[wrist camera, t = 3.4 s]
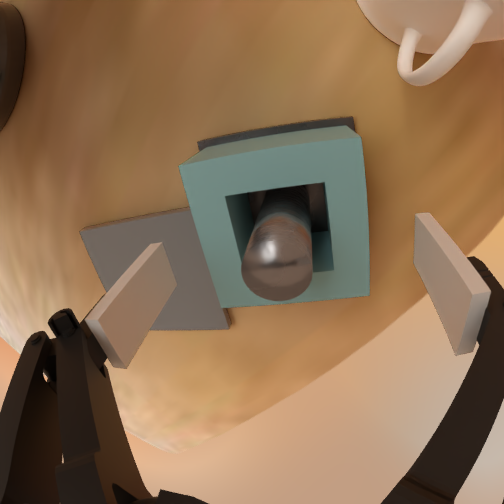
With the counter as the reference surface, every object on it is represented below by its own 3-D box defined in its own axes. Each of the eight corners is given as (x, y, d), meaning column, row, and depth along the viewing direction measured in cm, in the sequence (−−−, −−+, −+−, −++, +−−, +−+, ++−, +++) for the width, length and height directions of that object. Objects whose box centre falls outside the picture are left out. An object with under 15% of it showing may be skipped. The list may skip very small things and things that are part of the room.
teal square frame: (206, 147, 19) (178, 166, 15) (346, 125, 17) (361, 137, 13) (236, 265, 23) (221, 308, 19) (358, 253, 21) (369, 295, 17)
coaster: (84, 227, 24) (79, 231, 24) (195, 205, 22) (191, 210, 21) (129, 324, 30) (126, 329, 29) (231, 323, 27) (229, 329, 26)
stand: (199, 140, 20) (133, 179, 12) (352, 116, 17) (391, 137, 10) (232, 269, 24) (200, 355, 16) (364, 255, 22) (388, 344, 14)
